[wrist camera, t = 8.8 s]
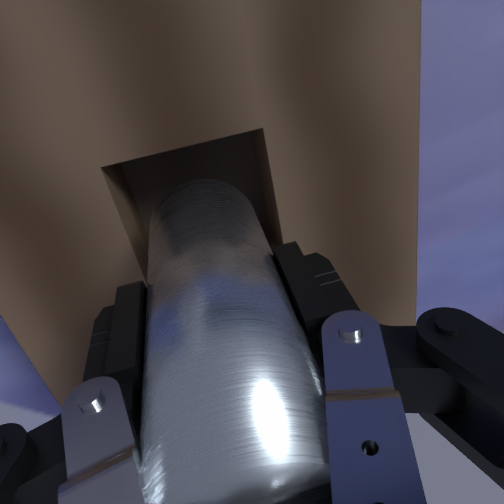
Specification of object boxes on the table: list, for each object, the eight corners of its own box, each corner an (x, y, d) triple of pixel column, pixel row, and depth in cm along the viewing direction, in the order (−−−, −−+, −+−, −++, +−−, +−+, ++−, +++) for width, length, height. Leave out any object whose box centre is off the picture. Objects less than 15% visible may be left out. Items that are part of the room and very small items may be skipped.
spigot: (245, 166, 16) (372, 433, 6) (264, 259, 18) (381, 561, 8) (134, 194, 15) (94, 512, 6) (167, 285, 17) (175, 622, 8)
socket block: (359, -92, 17) (423, -118, 13) (375, 274, 27) (416, 328, 23) (-103, 10, 16) (-194, 17, 12) (85, 351, 26) (70, 422, 22)
